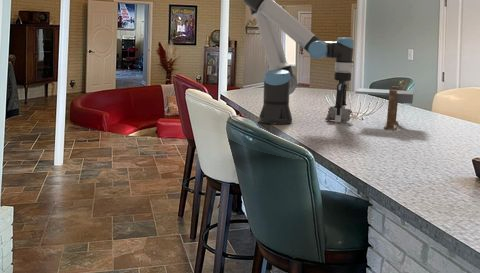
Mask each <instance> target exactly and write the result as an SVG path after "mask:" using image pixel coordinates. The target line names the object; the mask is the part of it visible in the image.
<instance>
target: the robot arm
mask: <svg viewBox="0 0 480 273" xmlns="http://www.w3.org/2000/svg"><path fill="white" fill-rule="evenodd" d="M242 1H243V4H245V5H246V6H247V7H248V8H249V10H250V13H251V14H250V15H251V17H253V18H254V19H255V20H256V23H257V24H256V25H257V27H258V31H259V35H260V37H261V41H262V46H263V50H264V53H265V56H266V59H267V60H266V61H267V63H268V67H269V68H268V70H266V71H265V73H264V76H263V105H262V108H261V111H260V112H259V116H258V122H259V123H261V124H267V125H269V124H268V123H276V124H275V125H286V124H285V123H290V124H292V123H293V116H292V113H291V108H290V95H291V94H293V93H294V92H295V90H296V88H297V86H298V80H297V77H296V74H294V72H293V69H292V65H291V64H290V63H289V62H288V61H287V59H286V54H285V52H284V47H283V44H282V40H281V36H280V34H279V29H280V30H281V31H282V32H283V33H285V34H286V35H287V36H288V37H289V38H291V39H292V40H293V41H294V42H295V43H296V44H298V46H300V47H301V48H303V50H304V51H306V52H307V53H308V54H309V57H310V58H313V59H315V60H321V59H335V63H334V71H335V72H334V81H338V84H337V85H336V94H335V96H336V97H335V105H333V106H334V108H336V112H335V120H334V122H335V123H342V121H341V115H342V108H344V109H346V107H347V105H348V104H347V89H348V84H347V82H350V81H352V73H351V72H352V69H353V67H354V64H353V58H354V45H355V44H354V42H355V40H354V39H353V38H352V37H336V38H337V39H336V41H324V40H321V39H320V38H319V37H318V36H316V35H315V33H313V32H312V31H311V30H310V29H308V28H307V27H306V26H304V25H303V23H301V22H300V21H299V20H298V19H296V18H295V17H294V16H293V15H291V14H290V13H289V12H288V11H287V10H285V9H284V8H283V7H282V6H281V5H280V4H278V3H277V2H276V1H275V0H242ZM291 122H292V123H291Z"/></svg>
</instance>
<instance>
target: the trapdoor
mask: <svg viewBox="0 0 480 273" xmlns="http://www.w3.org/2000/svg"><path fill="white" fill-rule="evenodd" d="M389 90H390V89H378V88H365V87H364V88H363V87H362V88H361V87H360V88H358V89H356V90H355V91H354V94H358V95H359V94H361V95H376V96H377V95H378V96H389ZM414 92H415V91H414V90H402V89H401V90H400V89H399V90H397V98H396V103H398V104H409V105H412V104H413V100H414Z"/></svg>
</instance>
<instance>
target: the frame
mask: <svg viewBox="0 0 480 273" xmlns="http://www.w3.org/2000/svg"><path fill="white" fill-rule="evenodd" d="M388 90H389V95H388V104H387V105H388V106H387V115H386V123H385V124H384V127H383V130H387V131H396V130H397V127H398V125H399V120H397V116H398V104H399V103H396V98H397V90H400V86H395V85H393V86H391V89H388Z"/></svg>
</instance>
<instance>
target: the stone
mask: <svg viewBox="0 0 480 273" xmlns="http://www.w3.org/2000/svg"><path fill="white" fill-rule="evenodd" d="M334 106H335V105H332V106H329V107H328V110H327V114H326V117H325V118H324V120H326V121H328V122H330V121H335V112H336V108H334ZM352 113H353V111H352V110H351V108H345V109H344V108H342V115H341V122H346V123H347V122H350V120H351V118H350V116H351V114H352Z"/></svg>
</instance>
